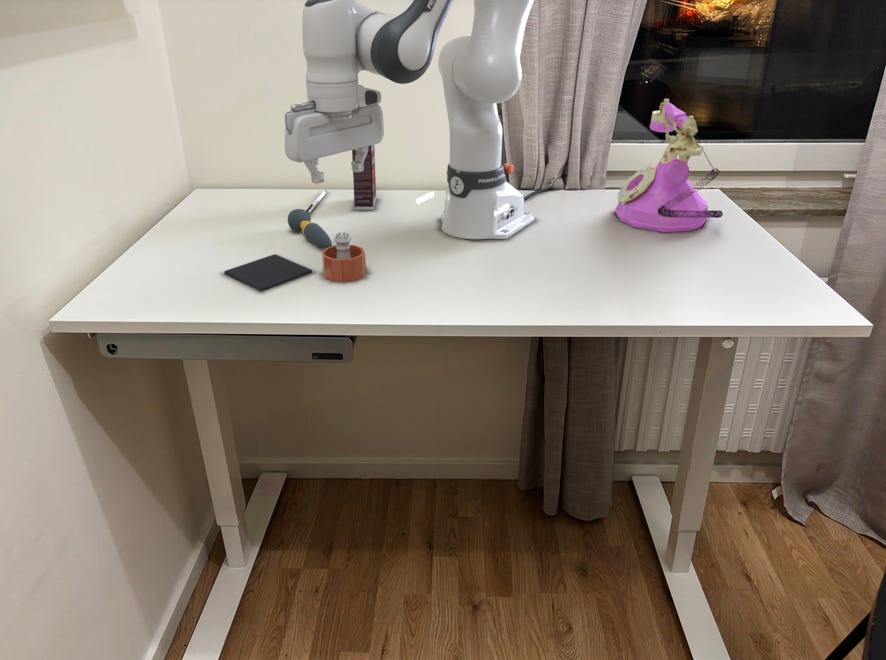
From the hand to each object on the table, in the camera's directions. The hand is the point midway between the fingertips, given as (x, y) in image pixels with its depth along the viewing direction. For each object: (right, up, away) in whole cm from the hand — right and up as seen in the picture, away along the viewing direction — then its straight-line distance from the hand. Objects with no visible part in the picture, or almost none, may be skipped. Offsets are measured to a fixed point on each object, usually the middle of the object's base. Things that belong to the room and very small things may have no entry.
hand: (338, 176), depth 135 cm
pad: (-15, -16, +10) cm, 24 cm away
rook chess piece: (0, -17, +10) cm, 19 cm away
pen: (-11, +5, +46) cm, 48 cm away
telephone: (+70, -3, +33) cm, 78 cm away
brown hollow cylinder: (0, -16, +10) cm, 19 cm away
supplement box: (+1, +4, +46) cm, 46 cm away
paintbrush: (-9, -7, +27) cm, 29 cm away
